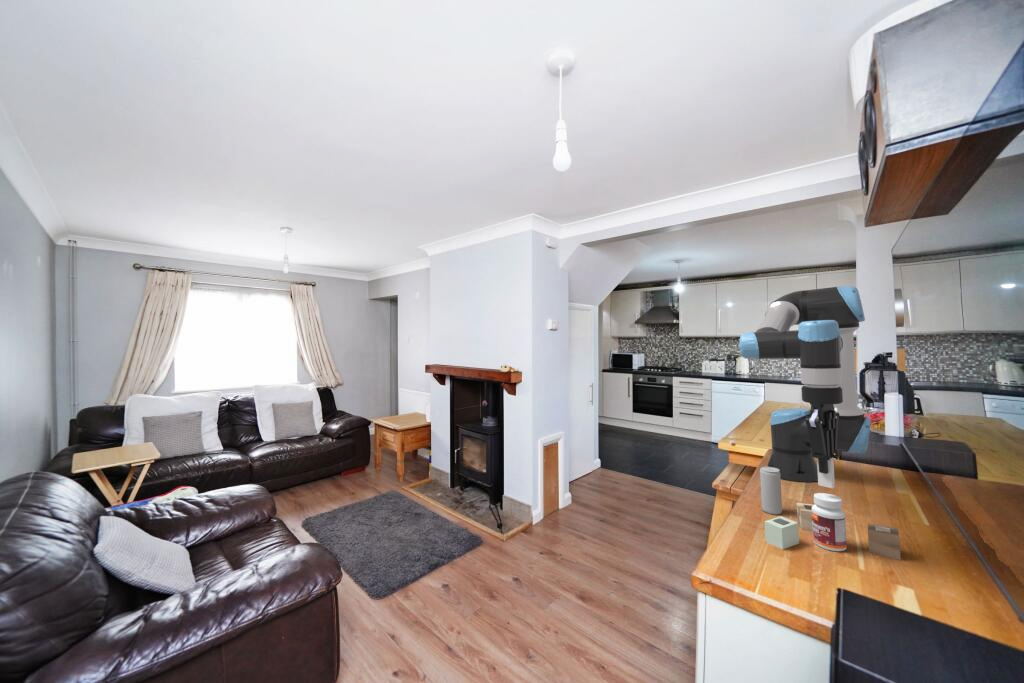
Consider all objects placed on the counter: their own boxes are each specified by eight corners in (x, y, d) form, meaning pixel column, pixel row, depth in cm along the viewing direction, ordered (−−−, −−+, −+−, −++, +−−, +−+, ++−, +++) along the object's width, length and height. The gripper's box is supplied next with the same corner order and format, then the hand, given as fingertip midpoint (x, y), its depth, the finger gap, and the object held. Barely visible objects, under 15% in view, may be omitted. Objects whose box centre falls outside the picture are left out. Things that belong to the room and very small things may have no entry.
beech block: (797, 521, 102) (796, 502, 102) (821, 524, 100) (820, 504, 100) (801, 530, 97) (800, 509, 98) (826, 533, 95) (825, 512, 95)
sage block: (781, 536, 95) (780, 515, 95) (799, 543, 91) (798, 521, 91) (765, 542, 93) (764, 520, 93) (782, 549, 89) (781, 527, 89)
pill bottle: (806, 541, 92) (804, 494, 92) (824, 536, 94) (822, 490, 94) (835, 554, 86) (832, 504, 86) (853, 549, 88) (851, 499, 88)
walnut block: (868, 543, 90) (867, 521, 90) (898, 550, 86) (897, 527, 86) (869, 553, 86) (867, 529, 86) (900, 560, 83) (899, 536, 83)
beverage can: (785, 515, 105) (783, 472, 105) (766, 515, 106) (764, 471, 106) (777, 508, 110) (775, 466, 110) (758, 507, 111) (756, 466, 111)
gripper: (813, 382, 97) (818, 475, 97) (790, 387, 90) (795, 487, 90) (851, 384, 91) (856, 484, 90) (830, 389, 84) (835, 497, 83)
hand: (826, 485), depth 90 cm, fingers closed
